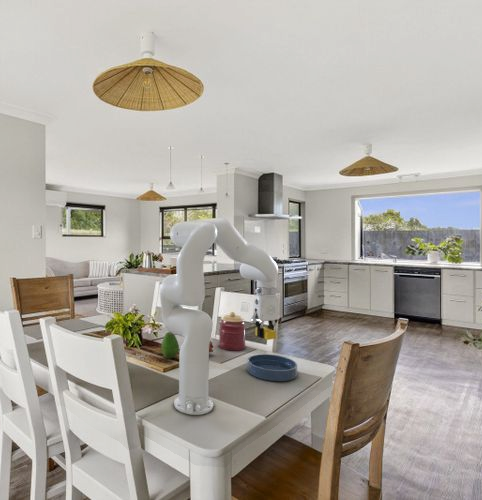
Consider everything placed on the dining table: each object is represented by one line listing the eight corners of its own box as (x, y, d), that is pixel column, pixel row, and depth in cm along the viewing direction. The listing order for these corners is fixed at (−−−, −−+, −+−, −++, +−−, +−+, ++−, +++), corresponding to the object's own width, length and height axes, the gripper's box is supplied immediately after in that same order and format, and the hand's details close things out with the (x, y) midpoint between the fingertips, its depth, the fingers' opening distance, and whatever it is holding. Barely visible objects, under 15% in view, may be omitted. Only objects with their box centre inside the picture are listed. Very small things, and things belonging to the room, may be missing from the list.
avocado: (159, 360, 160) (159, 333, 160) (163, 354, 168) (163, 329, 167) (177, 361, 158) (177, 334, 158) (180, 356, 166) (180, 330, 166)
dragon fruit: (212, 355, 172) (197, 366, 163) (199, 342, 175) (184, 352, 167) (220, 344, 167) (206, 354, 158) (207, 331, 171) (192, 340, 162)
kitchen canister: (218, 350, 175) (219, 314, 174) (218, 342, 188) (219, 308, 187) (246, 351, 173) (247, 315, 172) (244, 343, 186) (245, 309, 185)
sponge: (276, 338, 142) (276, 331, 142) (267, 339, 140) (267, 332, 140) (263, 334, 148) (263, 326, 148) (255, 335, 146) (255, 328, 146)
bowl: (303, 383, 136) (303, 371, 136) (251, 381, 138) (251, 369, 138) (289, 365, 155) (289, 355, 155) (244, 363, 157) (244, 353, 157)
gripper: (255, 294, 136) (255, 341, 137) (289, 291, 144) (288, 336, 144) (243, 291, 143) (242, 336, 144) (275, 288, 150) (275, 331, 151)
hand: (265, 336), depth 144 cm, fingers closed on sponge, 4 cm apart
